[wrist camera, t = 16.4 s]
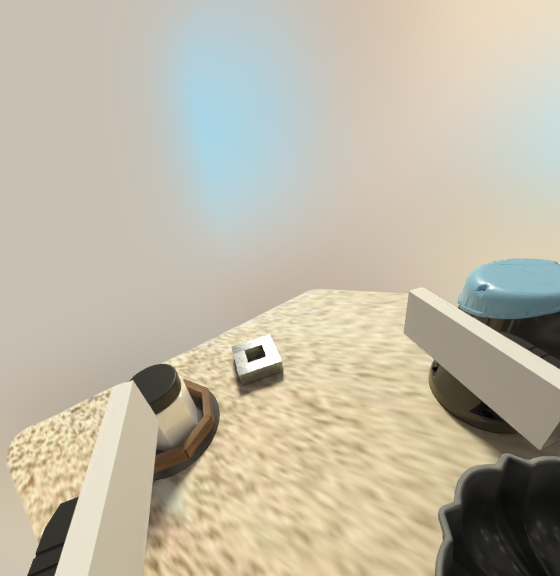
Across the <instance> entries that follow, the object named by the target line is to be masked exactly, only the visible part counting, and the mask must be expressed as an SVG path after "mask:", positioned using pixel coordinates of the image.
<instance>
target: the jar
mask: <svg viewBox="0 0 560 576" xmlns="http://www.w3.org/2000/svg"><path fill="white" fill-rule="evenodd" d="M132 380H133V381H134V382H135V384H136V386H137V387H138V389H139V390H140V392H141V393H142V395H143V396H144V398H145V400H146V401H147V403H148V404H149V406H150V407H151V409H152V410H153V412H154V413H155V415H156V417H157V418H158V420H159V425H158V435H157V444H156V450H162V451H168V450H170V449H173V448H176V447H178V446H181V445H182V444H183V443H184V442H185V440H186V439H187V438H188V436H189V435H190V434H191V432H192V431H193V430H194V428H195V427H196V426H197V425H198V416H197V408H196V406H195V404H194V402H193V400H192V398H191V396H190V394H189V392H188V390H187V387H186V385H185V383H184V381H183V379H182V377H181V376H178V374H177V372H176V370H175V368H174V367H172V366H171V365H167V364H158V365H153V366H150V367H148V368H146V369H144V370H142V371H140V372H139V373H137V374H136V375H135V376H134V377H133V378H132V379H131V380H130V381H132Z"/></svg>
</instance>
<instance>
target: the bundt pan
mask: <svg viewBox="0 0 560 576" xmlns="http://www.w3.org/2000/svg"><path fill="white" fill-rule="evenodd" d="M438 517H439V522H440V525H441V528H442V532H443V542H442V544H441V546H440V549H439V552H438V555H437V559H436V567H435V576H560V457H557V456H540V457H536V458H533V459H531V460H528V459H524V458H521V457H518V456H515V455H512V454H509V453H504V454H502V455H501V457H500V459H499V461H498V462H497V463H496V464H487V465H477V466H475V467H472V468H470V469H468V470H467V471H465V472H464V473H463V474H462V475H461V477H460V478H459V480H458V483H457V486H456V489H455V497H454V502H452V503H449V504H447V505H444V506H442V507H441V508H440V510H439V513H438Z"/></svg>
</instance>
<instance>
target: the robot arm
mask: <svg viewBox="0 0 560 576" xmlns="http://www.w3.org/2000/svg"><path fill="white" fill-rule="evenodd" d="M458 304H459V306H458V308H456V307H455V306H453V305H451V304H450V303H448V302H446V301H444V300H443V299H441V298H440V297H438V296H436V295H435V294H433V293H431V292H429V291H428V290H426V289H425V288H423V287H420V288H418V289H414V290H411V291H409V296H408V304H407V311H406V319H405V327H404V334H405V335H406V336H408V337H409V338H410V339H411V340H412V341H413V342H415V343H416V344H417V345H418V346H419V347H420V348H422V349H423V350H424V351H425V352H426V353H427V354H428V355H430V356H431V357H432V358H433V359H434V361H433V363H432V365H431V368H430V372H429V385H430V388H431V390H432V392H433V394H434V396H435V397H436V398H437V400H438V401H439V402H440V403H441V404H442V405H443V406H444V407H445V408H446V409H447V410H448V411H449V412H451V413H452V414H453V415H455V416H456V417H458V418H459V419H461V420H463V421H464V422H466V423H468V424H470V425H473V426H475V427H478V428H480V429H483V430H487V431H491V432H496V433H508V434H509V433H518V432H519V433H520V434H521V435H522V436H524V437H525V438H526V439H527V440H528V441H529V442H530V443H532V444H533V445H534V446H535V447H536V448H537V449H539V450H541V449H543V448H545V447H547V446H549V445H551V444H553V443H555V442H557V440H558V439H559V438H560V265H559V264H558V263H557V262H555V261H549V260H541V259H507V260H500V261H494V262H491V263H489V264H485V265H482V266H480V267H478V268H476V269H475V270H473V271H472V272H471V273H470V274H469V275H468V277H467V278H466V281H465V284H464V287H463V290H462V292H461V293H460V295H459V297H458ZM158 425H159V420H158V418H157V417H156V415H155V413H154V412H153V410H152V409H151V407H150V406H149V404H148V403H147V401H146V400H145V398H144V396H143V395H142V393H141V392H140V390H139V389H138V387H137V386H136V384H135V382H134V381H133V380H132V381H129V382H126V383H123V384H120V385H117V386H114V387H113V388H112V391H111V395H110V398H109V401H108V404H107V408H106V411H105V414H104V417H103V421H102V424H101V427H100V430H99V434H98V437H97V440H96V443H95V447H94V450H93V453H92V456H91V459H90V463H89V466H88V469H87V472H86V476H85V479H84V482H83V485H82V489H81V492H80V495H79V497H77V498H74V499H72V500H69V501H66V502H64V503H61V504H60V506H59V507H58V509H57V510H56V512H55V513H54V515H53V516H52V518H51V520H50V521H49V523H48V524H47V526H46V527H45V530H44V532H43V535H42V538H41V540H40V543H39V546H38V548H37V551H36V557H35V559H33V562H32V565H31V567H30V570H29V573H28V575H27V576H143V571H144V561H145V551H146V542H147V532H148V522H149V513H150V503H151V493H152V483H153V474H154V464H155V454H156V444H157V435H158Z"/></svg>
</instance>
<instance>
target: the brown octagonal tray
mask: <svg viewBox="0 0 560 576" xmlns="http://www.w3.org/2000/svg"><path fill="white" fill-rule="evenodd" d="M183 381H184V383H185V385H186V387H187V390H188V392H189V394H190V396H191V398H192V400H193V402H194V404H195V406H196V408H197V416H198V425H197V426H196V427H195V428H194V430H193V431H192V432H191V434H190V435H189V436H188V438H187V439H186V440H185V442H184V443H183V444H182V445H181V446H178V447H176V448H173V449H170V450H168V451H162V450H156V454H155V464H154V474H153V480H158V479H163V478H166V477H169V476H172V475H174V474H176V473H178V472H180V471H181V470H183V469H185V468H186V467H188V466H189V465H190V464H192V463H193V462H194V461H195V460H196V459H197V458H198V457H199V456H200V455H201V454H202V453H203V452H204V451H205V449H206V448H207V447H208V445H209V444H210V442H211V440H212V439H213V437H214V435H215V432H216V430H217V427H218V423H219V415H220V413H219V406H218V403H217V400H216V398H215V397H214V395H213V394H212V393H211V392H210V391H209V390H208V388H206V387H203V386H201V385H198V384H196V383H193V382H191V381H188V380H183Z"/></svg>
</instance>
